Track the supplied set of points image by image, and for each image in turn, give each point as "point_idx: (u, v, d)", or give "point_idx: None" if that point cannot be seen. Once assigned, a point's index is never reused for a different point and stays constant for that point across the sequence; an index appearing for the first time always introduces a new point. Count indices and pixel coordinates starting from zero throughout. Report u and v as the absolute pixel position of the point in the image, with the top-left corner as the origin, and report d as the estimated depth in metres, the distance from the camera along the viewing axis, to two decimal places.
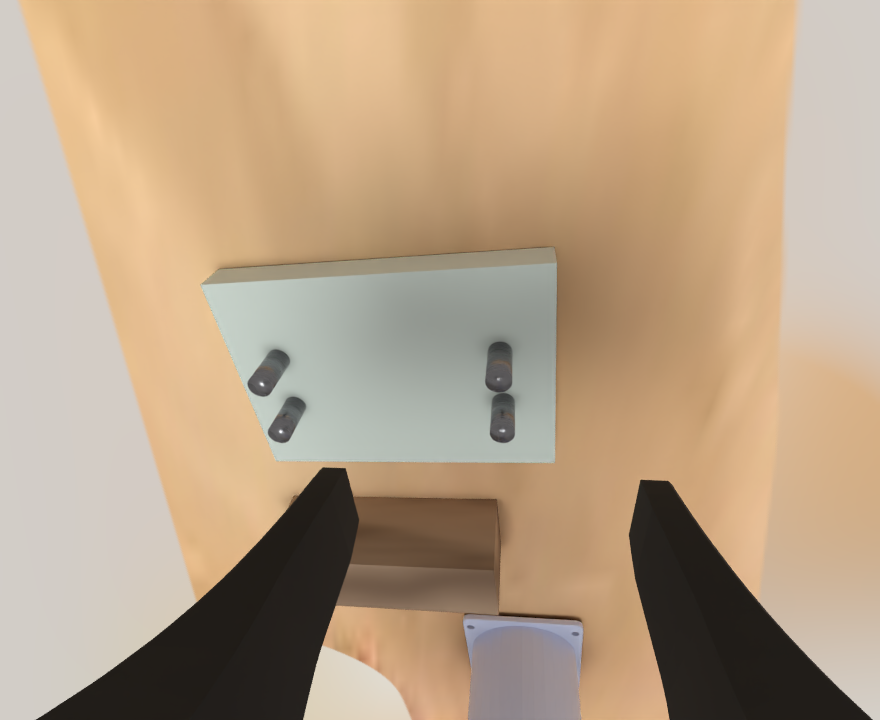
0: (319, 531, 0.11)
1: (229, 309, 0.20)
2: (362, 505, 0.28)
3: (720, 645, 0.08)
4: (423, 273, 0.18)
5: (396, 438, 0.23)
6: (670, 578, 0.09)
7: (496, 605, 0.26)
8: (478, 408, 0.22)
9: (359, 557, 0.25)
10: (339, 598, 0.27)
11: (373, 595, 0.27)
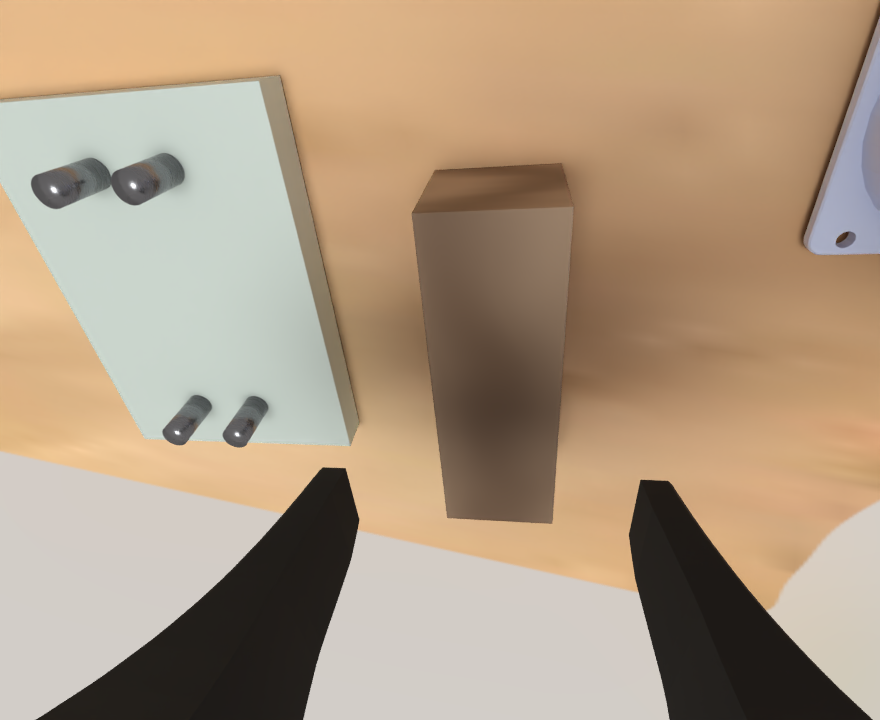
0: (319, 531, 0.11)
1: (159, 426, 0.23)
2: None
3: (720, 645, 0.08)
4: (42, 253, 0.18)
5: (275, 312, 0.18)
6: (670, 578, 0.09)
7: (535, 210, 0.12)
8: (191, 204, 0.16)
9: None
10: (534, 459, 0.17)
11: (520, 414, 0.16)
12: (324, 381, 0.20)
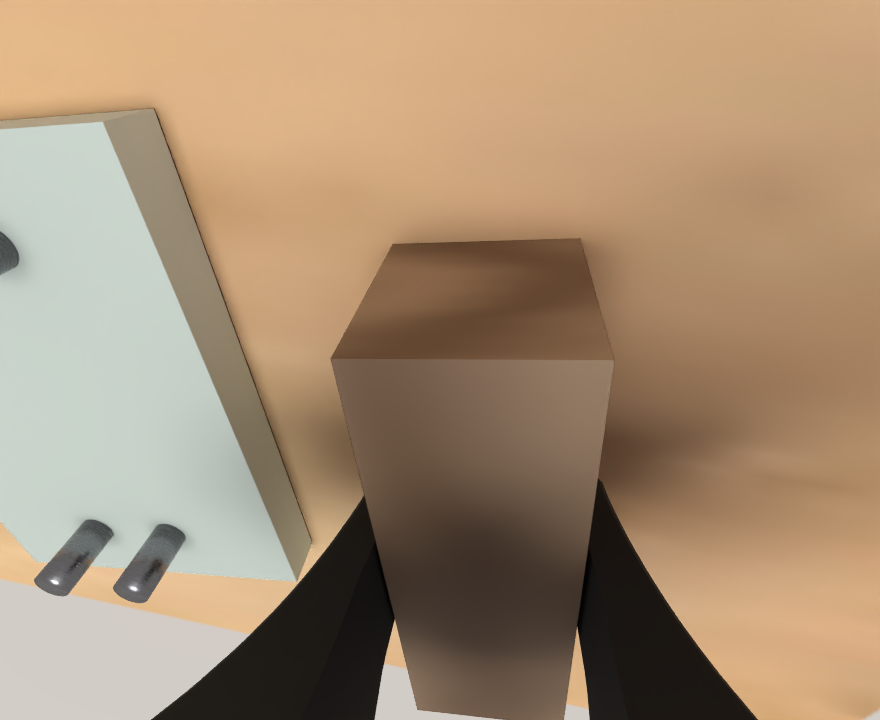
0: None
1: (51, 549, 0.17)
2: None
3: (616, 636, 0.08)
4: None
5: (178, 431, 0.13)
6: (587, 572, 0.10)
7: (545, 363, 0.07)
8: (37, 294, 0.11)
9: None
10: (539, 663, 0.12)
11: (518, 615, 0.11)
12: (254, 512, 0.15)
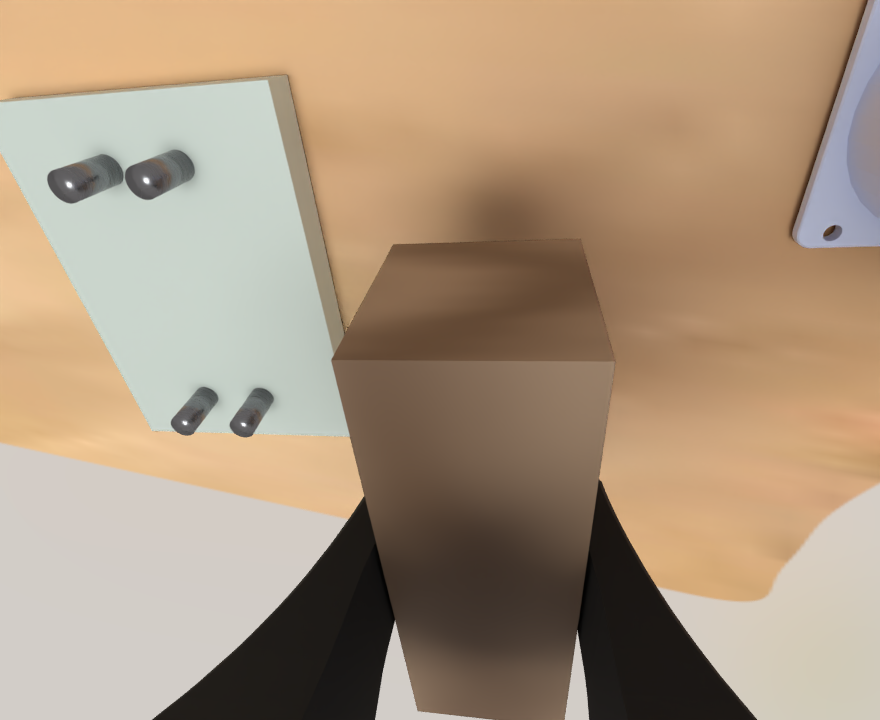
0: None
1: (167, 417, 0.23)
2: None
3: (616, 636, 0.08)
4: (54, 248, 0.19)
5: (281, 305, 0.19)
6: (587, 572, 0.10)
7: (546, 364, 0.07)
8: (201, 199, 0.17)
9: None
10: (539, 665, 0.12)
11: (519, 616, 0.11)
12: (328, 373, 0.20)
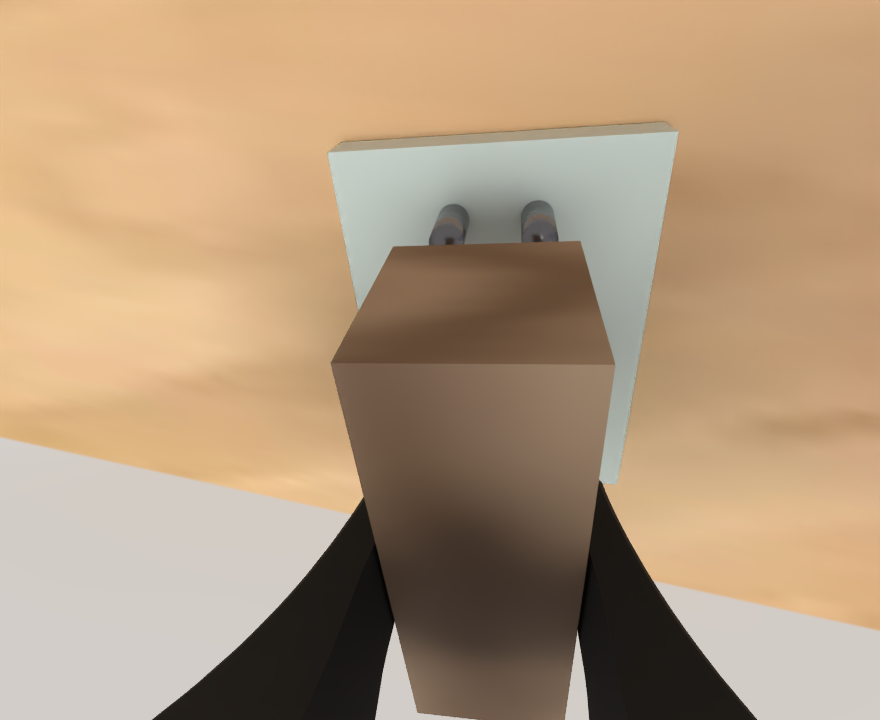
0: None
1: None
2: None
3: (615, 636, 0.08)
4: (357, 296, 0.18)
5: None
6: (586, 572, 0.10)
7: (546, 367, 0.07)
8: None
9: None
10: (539, 667, 0.12)
11: (519, 619, 0.11)
12: (617, 422, 0.19)
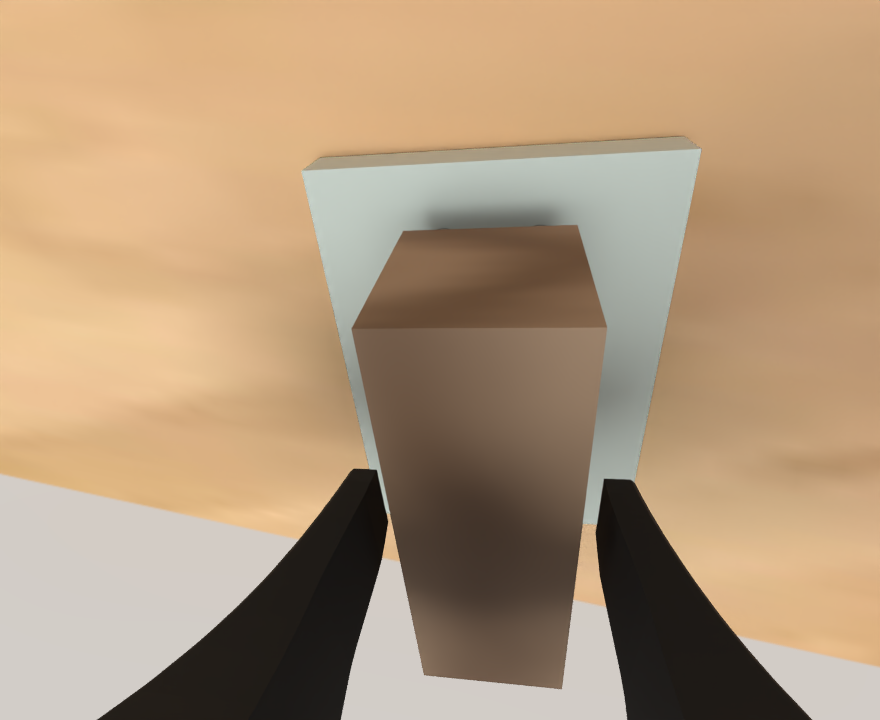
0: (354, 533, 0.11)
1: None
2: None
3: (665, 640, 0.08)
4: (339, 327, 0.16)
5: (600, 392, 0.16)
6: (626, 575, 0.10)
7: (545, 331, 0.08)
8: None
9: None
10: (539, 625, 0.12)
11: (520, 576, 0.11)
12: (626, 462, 0.18)
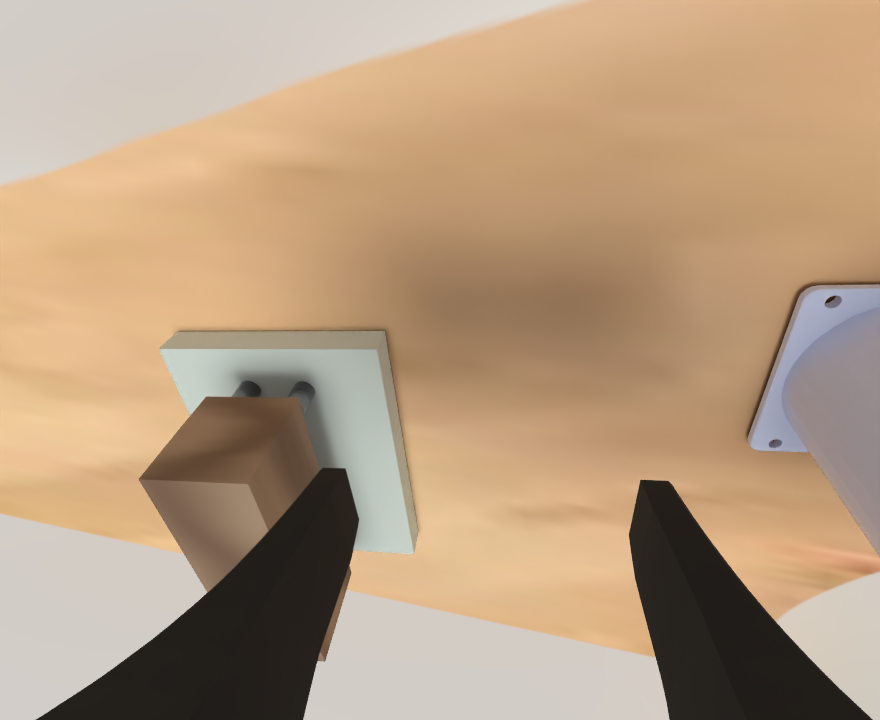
0: (319, 531, 0.11)
1: None
2: None
3: (720, 645, 0.08)
4: None
5: (368, 471, 0.25)
6: (670, 578, 0.09)
7: (223, 484, 0.16)
8: (317, 409, 0.23)
9: None
10: None
11: None
12: (399, 513, 0.26)
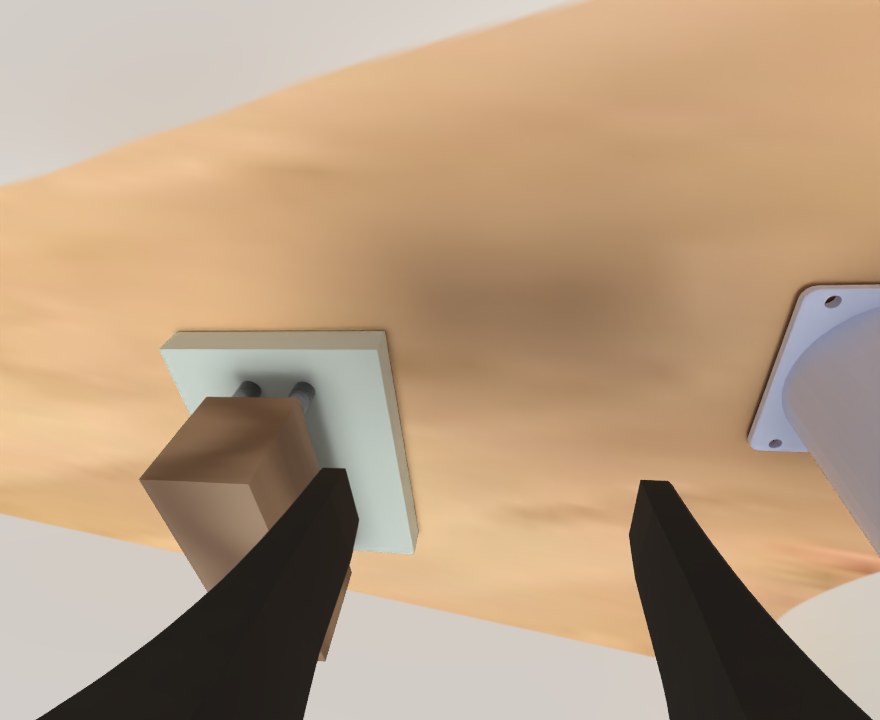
0: (319, 531, 0.11)
1: None
2: None
3: (720, 645, 0.08)
4: None
5: (368, 472, 0.25)
6: (670, 578, 0.09)
7: (223, 484, 0.16)
8: (317, 409, 0.23)
9: None
10: None
11: None
12: (399, 513, 0.26)
